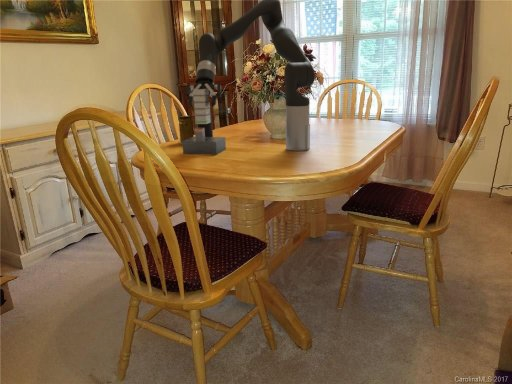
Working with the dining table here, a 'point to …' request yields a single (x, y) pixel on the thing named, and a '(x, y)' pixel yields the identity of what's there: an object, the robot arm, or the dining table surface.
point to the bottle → (207, 127)
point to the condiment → (185, 128)
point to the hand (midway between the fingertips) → (201, 105)
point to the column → (202, 106)
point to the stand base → (203, 144)
